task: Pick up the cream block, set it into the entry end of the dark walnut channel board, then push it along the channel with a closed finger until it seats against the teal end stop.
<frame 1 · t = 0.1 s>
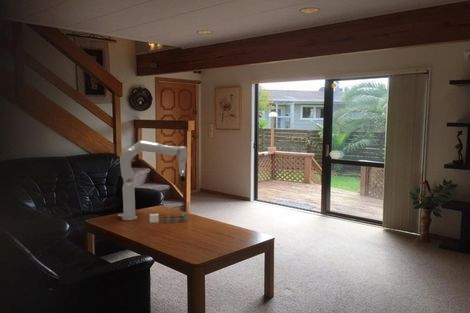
hand: (182, 180, 334), 31 cm above the table, fingers open, 9 cm apart
channel board: (174, 220, 321), on the table
cream block: (154, 221, 318), on the table
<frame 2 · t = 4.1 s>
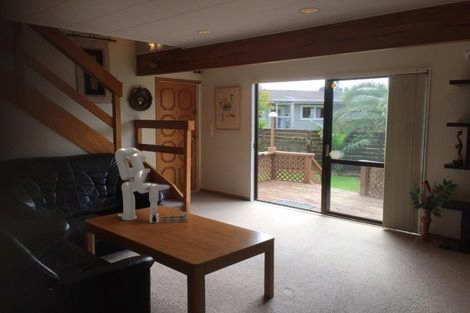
hand: (154, 220, 318), 1 cm above the table, fingers closed on cream block, 4 cm apart
cream block: (154, 221, 318), on the table, touching gripper
when the fingers open (4 cm above the table, at t = 7.6 s): cream block drops 2 cm, resting on channel board.
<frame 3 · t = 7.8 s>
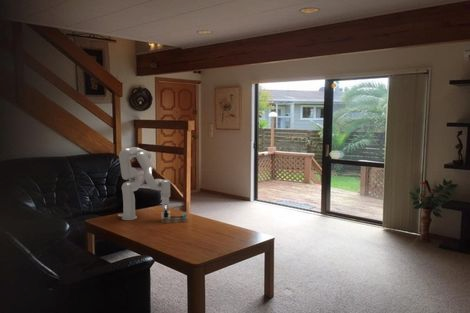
hand: (166, 216, 319), 4 cm above the table, fingers open, 6 cm apart
cream block: (165, 219, 319), point 1 cm above the table, touching channel board
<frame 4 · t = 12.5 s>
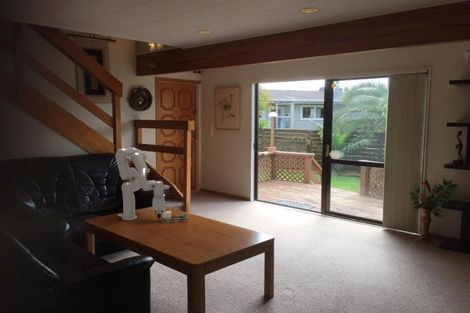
hand: (159, 218, 318), 3 cm above the table, fingers closed
cream block: (167, 219, 320), point 2 cm above the table, touching gripper
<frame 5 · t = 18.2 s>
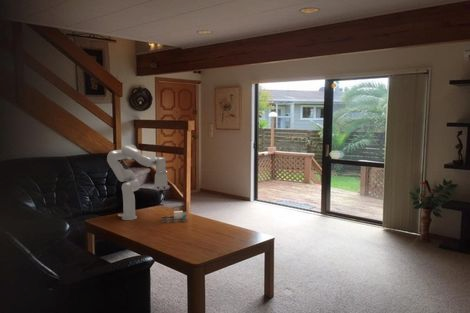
hand: (161, 194, 317), 22 cm above the table, fingers closed
cream block: (178, 218, 321), point 1 cm above the table, touching channel board
at the end: cream block 0.3 cm from the target spot on the channel board, point 1.5 cm above the channel board's base; cream block tilted 0° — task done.
